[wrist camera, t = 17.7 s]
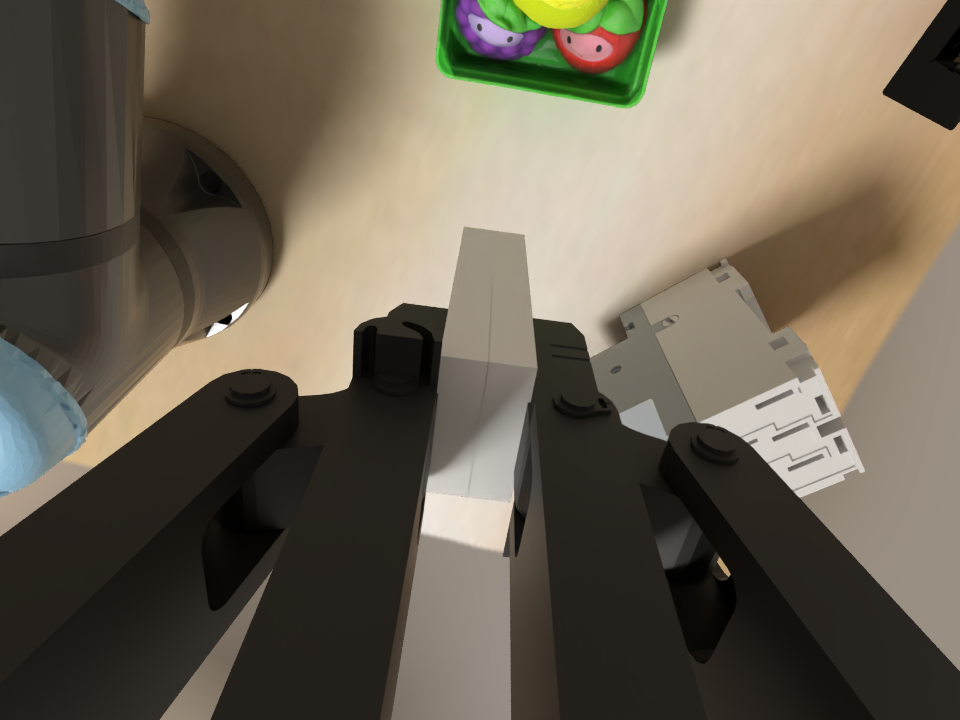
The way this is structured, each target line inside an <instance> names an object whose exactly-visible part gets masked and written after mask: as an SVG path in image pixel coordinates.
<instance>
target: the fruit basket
mask: <svg viewBox="0 0 960 720" xmlns="http://www.w3.org/2000/svg"><path fill="white" fill-rule="evenodd" d="M667 3H668V0H442V1H441V10H440V21H439V29H438V38H437V48H436V64H437V67H438V69H439V71H440V72H441V73H442V74H443V75H445V76H446V77H448V78H451V79H457V80H464V81H470V82H476V83H482V84H488V85H496V86H501V87H507V88H512V89H518V90H523V91H529V92H535V93H540V94H545V95H551V96H557V97H563V98H569V99H575V100H581V101H586V102H592V103H598V104H603V105H609V106H614V107H619V108H630V107H633V106H635V105H636V104H638V103H639V102H640V100H641V99H642V97H643V95H644V93H645V90H646V85H647V81H648V77H649V73H650V69H651V64H652V60H653V57H654V53H655V49H656V45H657V41H658V36H659V33H660V29H661V25H662V21H663V17H664V14H665V10H666V6H667Z"/></svg>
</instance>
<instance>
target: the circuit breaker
mask: <svg viewBox="0 0 960 720" xmlns="http://www.w3.org/2000/svg"><path fill="white" fill-rule="evenodd" d="M719 262H720V264H721V266H720V267H718V268H716V269H714V270H712V271H711V272H710V271H709V270H708V268H706V269H704V270H702V271H700V272H698V273H696V274H695V275H693V276H691V277H689V278H687V279H685V280H683V281H682V282H680V283H678V284H676V285H674V286H672V287H670V288H668V289H667V290H665V291H663V292H661V293H659V294H657V295H655V296H654V297H652V298H650V299H648V300H646V301H644V302H642V303H641V304H639V305H637V306H635V307H633V308H631V309H629V310H628V311H626V312H624V313H622V314H620V318H621V321H622V323H623V326H624V328H625V330H626V334H627V336H628V338H627V339H626V340H624V341H622V342H620V343H618V344H616V345H614V346H612V347H610V348H609V349H607V350H605V351H603V352H601V353H599V354H597V355H595V356H593V357H591V358H590V362H591V365H592V369H593V373H594V377H595V380H596V384H597V388H598V392H600V393H602V394H603V395H605V396H606V397H607V398H608V399H610V400H611V401H612V402H613V403H614V405H615V407H616V408H617V410H618V412H619V415H620V419H621V422H622V424H623V425H625V426H627V427H628V428H630V429H633V430H636V431H638V432H641V433H643V434H646V435H650V436H653V437H656V438H659V439H662V440H665V441H667V439H668V436H669V433H670V431H671V429H673V428H674V427H675V426H677V425H678V424H682V423H688V422H698V423H709V424H713V425H715V426H720V427H722V428H725V429H727V430H728V431H730V432H732V433H734V434H736V435H737V436H739V437H741V438H742V439H743V440H745V441H746V442H747V443H748V444H749V445H751V446H752V447H753V448H754V449H755V450H756V451H757V452H758V454H759V455H760V456H761V457H762V458H763V459H764V460H765V461H766V462H767V463H768V464H769V465H770V467H771V468H772V469H773V470H774V471H775V472H776V473H777V474H778V475H779V476H780V477H781V478H782V480H783V481H784V482H785V483H786V484H787V485H788V486H789V487H790V488H791V489H792V490H793V491H794V493H795V494H796V495H797V496H798V497H799V498H800V497H803V496H805V495H808V494H810V493H813V492H815V491H818V490H820V489H823V488H825V487H828V486H830V485H832V484H835V483H838V482H840V481H842V480H845V479H844V477H843V474H846V473H848V472H850V471H853V470H856V469H858V470H859V472H860V473H862V472H865V470H864V468H863V465H862V463H861V461H860V458H859V456H858V454H857V452H856V449H855V447H854V445H853V442H852V440H851V438H850V436H849V434H848V431H847V429H846V427H845V425H844V423H843V422H842V420H841V418H840V416H841V415H840V413H839V411H838V409H837V406H836V404H835V402H834V400H833V397H832V395H831V393H830V391H829V388H828V386H827V384H826V382H825V379H824V377H823V375H822V373H821V370H820V368H819V366H818V365H817V363H816V362H815V361H814V359H813V357H812V355H811V353H810V351H809V349H808V347H807V346H806V344H805V343H804V342H803V341H802V340H801V339H800V338H799V337H798V336H797V335H796V333H795V332H794V331H793V330H792V329H791V328H790V327H789V326H788V327H786V328H784V329H782V330H780V331H778V332H776V333H774V334H772V332H771V330H770V328H769V326H768V323H767V321H766V319H765V317H764V315H763V313H762V311H761V309H760V306H759V304H758V302H757V300H756V298H755V296H754V294H753V292H752V289H751V287H750V285H749V283H748V282H747V281H746V280H745V279H744V278H743V277H742V276H741V274H740V273H739V272H738V271H737V270H736V269H735V268H734V267H733V266H732V267H731V266H730V265H729V263H728V261H727V259H726V258H724V259H723V260H721V261H719ZM726 278H727V279H726ZM724 279H726V280H724Z"/></svg>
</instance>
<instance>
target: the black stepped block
mask: <svg viewBox="0 0 960 720" xmlns="http://www.w3.org/2000/svg"><path fill="white" fill-rule="evenodd" d="M883 95H885V96H887V97H889V98H891V99H893V100H894V101H896V102H898V103H900V104H902V105H904V106H906V107H907V108H909V109H911V110H913V111H915V112H917V113H919V114H920V115H922V116H924V117H926V118H928V119H930V120H932V121H933V122H935V123H937V124H939V125H941V126H943V127H945V128H947V129H948V130H953V129H954V128H955V127H956V126H957V124H958V123H959V122H960V0H947V2H946V3H945V5H944V6H943V7H942V9H941V10H940V12H939V13H938V14H937V16H936V17H935V19H934V20H933V21H932V23H931V24H930V26H929V27H928V28H927V30H926V31H925V33H924V34H923V35H922V37H921V38H920V40H919V41H918V42H917V44H916V45H915V47H914V48H913V49H912V51H911V52H910V54H909V55H908V56H907V58H906V59H905V61H904V62H903V63H902V65H901V66H900V68H899V69H898V70H897V72H896V73H895V75H894V76H893V77H892V79H891V80H890V82H889V83H888V84H887V86H886V87H885V89H884V90H883Z"/></svg>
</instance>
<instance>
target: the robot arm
mask: <svg viewBox="0 0 960 720" xmlns="http://www.w3.org/2000/svg"><path fill="white" fill-rule="evenodd" d="M145 24H150V13H149V10H148V8H147V7H146V5H145V3H144V0H0V497H3V496H6V495H8V494H10V493H11V492H15V491H18V490H20V489H22V488H25V487H27V486H29V485H30V484H32V483H33V482H35V481H36V480H37V479H39V478H40V477H41V476H42V475H44V474H45V473H46V472H47V471H49V470H50V469H51V468H52V467H54V466H55V465H56V464H57V463H59V462H60V461H61V460H63V459H64V458H65V457H66V456H69V455H71V454H73V453H74V452H75V451H77V450H78V449H79V448H80V447H81V445H82V444H83V443H84V442H85V441H86V440H85V438H86V437H87V436H88V434H89V433H90V432H91V431H92V430H93V429H94V428H95V427H96V426H97V425H98V424H99V423H100V422H101V421H102V420H103V419H104V417H105V416H106V415H107V414H108V413H109V412H110V411H111V410H112V409H113V408H114V407H115V406H116V405H117V404H118V403H119V402H120V401H121V400H122V399H123V398H124V397H125V396H126V395H127V394H128V393H129V392H130V391H131V390H132V389H133V388H134V387H135V386H136V385H137V384H138V383H139V382H140V381H141V380H142V379H143V378H144V377H145V376H146V375H147V374H148V373H149V372H150V371H151V370H152V369H153V368H154V367H155V366H156V365H157V364H158V363H159V362H160V361H161V360H162V359H163V358H164V357H165V356H166V355H167V354H168V353H169V352H170V351H171V350H172V349H173V348H175V347H178V346H181V345H184V344H187V343H191V342H194V341H197V340H200V339H203V338H206V337H209V336H212V335H215V334H217V333H219V332H221V331H223V330H225V329H226V328H228V327H229V326H231V325H232V324H234V323H235V322H236V321H238V320H239V319H240V318H241V317H242V316H243V315H244V314H245V313H246V312H247V311H248V309H249V308H250V307H251V306H252V305H253V304H254V303H255V301H256V300H257V299H258V298H259V296H260V295H261V293H262V291H263V290H264V288H265V286H266V284H267V281H268V278H269V275H270V272H271V267H272V261H273V240H272V233H271V228H270V224H269V220H268V217H267V214H266V211H265V209H264V206H263V204H262V202H261V200H260V198H259V196H258V194H257V192H256V190H255V189H254V187H253V186H252V184H251V183H250V181H249V180H248V178H247V177H246V176H245V174H244V173H243V172H242V171H241V170H240V168H239V167H238V166H237V165H236V164H235V163H234V162H233V161H232V160H231V159H230V158H229V157H228V156H227V155H226V154H225V153H224V152H222V151H221V150H220V149H219V148H218V147H216V146H215V145H214V144H212V143H211V142H209V141H208V140H206V139H205V138H203V137H202V136H200V135H198V134H196V133H194V132H192V131H190V130H188V129H186V128H184V127H182V126H179V125H177V124H174V123H171V122H167V121H163V120H160V119H154V118H148V117H143V91H144V58H145ZM513 486H514V504H513V509H512V514H511V519H510V524H509V529H508V533H507V538H506V543H505V548H504V553H503V557H509V556H510V629H511V630H510V637H511V639H510V640H511V720H960V671H959V670H958V669H957V668H956V667H955V666H954V665H953V664H952V662H951V661H950V660H949V659H948V658H947V657H946V656H945V655H944V654H943V653H942V652H941V651H940V649H939V648H937V646H936V645H935V644H934V643H933V642H932V641H931V640H930V639H929V638H928V637H927V636H926V635H925V633H924V632H923V631H922V630H921V629H920V628H919V627H918V626H917V625H916V624H915V622H914V621H913V620H912V619H911V618H910V617H909V616H908V615H907V614H906V613H905V612H904V611H903V609H901V607H900V606H899V605H898V604H897V603H896V602H895V601H894V600H893V599H892V598H891V596H890V595H889V594H888V593H887V592H886V591H885V590H884V589H883V588H882V587H881V586H880V585H879V583H877V581H876V580H875V579H874V578H873V577H872V576H871V575H870V574H869V573H868V572H867V570H866V569H865V568H864V567H863V566H862V565H861V564H860V563H859V562H858V561H857V560H856V559H855V557H853V555H852V554H851V553H850V552H849V551H848V550H847V549H846V548H845V547H844V546H843V545H842V544H841V542H840V541H839V540H838V539H837V538H836V537H835V536H834V535H833V534H832V533H831V532H830V530H829V529H828V528H827V527H826V526H825V525H824V524H823V523H822V522H821V521H820V520H819V519H818V517H817V516H816V515H815V514H814V513H813V512H812V511H811V510H810V509H809V508H808V507H807V506H806V504H805V503H803V501H802V500H801V499H800V498H799V497H798V496H797V495H796V494H795V493H794V491H793V490H792V489H791V488H790V487H789V486H788V485H787V484H786V483H785V482H784V481H783V480H782V478H781V477H780V476H779V475H778V474H777V473H776V472H775V471H774V470H773V469H772V468H771V467H770V465H769V464H768V463H767V462H766V461H765V460H764V459H763V458H762V457H761V456H760V455H759V454H758V452H757V451H756V450H755V449H754V448H753V447H752V446H751V445H749V444H748V443H747V442H746V441H745V440H743V439H742V438H741V437H739V436H737V435H736V434H734V433H732V432H730V431H728V430H727V429H725V428H722V427H720V426H715V425H713V424H709V423H698V422H688V423H682V424H678V425H677V426H675V427H674V428H673V429H671V431H670V433H669V436H668V439H667V441H665V440H662V439H659V438H656V437H653V436H650V435H646V434H643V433H641V432H638V431H636V430H633V429H630V428H628V427H627V426H625V425H623V424H622V422H621V419H620V415H619V412H618V410H617V408H616V407H615V405H614V403H613V402H612V401H611V400H610V399H608V398H607V397H606V396H605V395H603V394H602V393H600V392H598V388H597V384H596V380H595V377H594V373H593V369H592V365H591V362H590V357H589V353H588V351H587V345H586V341H585V338H584V335H583V334H582V333H581V332H580V331H579V330H578V329H577V328H576V327H575V326H574V325H573V324H572V323H565V322H558V321H550V320H542V319H535V318H532V307H531V297H530V287H529V277H528V267H527V257H526V247H525V237H524V235H521V234H514V233H507V232H499V231H492V230H485V229H477V228H470V227H464V230H463V235H462V240H461V246H460V251H459V256H458V261H457V267H456V272H455V277H454V283H453V288H452V293H451V298H450V304H449V309H445V308H437V307H429V306H422V305H414V304H407V303H402V304H401V305H399V306H398V307H396V308H395V309H393V310H392V311H390V312H389V314H388V316H387V317H381V318H374V319H371V320H368V321H366V322H363V323H361V324H360V325H359V326H358V327H357V328H356V329H355V330H354V345H353V378H352V380H351V383H350V385H349V388H347V389H345V390H342V391H339V392H335V393H330V394H322V395H310V396H298V388H297V384H296V383H295V382H294V381H293V380H292V379H291V378H290V377H288V376H285V375H283V374H281V373H278V372H275V371H268V370H263V369H253V370H251V369H245V370H240V371H236V372H232V373H228V374H224V375H222V376H220V377H218V378H217V379H215V380H213V381H211V382H209V383H208V384H207V385H205V386H204V387H203V388H201V389H200V390H199V391H197V392H196V393H194V394H193V395H192V396H190V397H189V398H188V399H186V400H185V401H184V402H182V403H181V404H180V405H178V406H177V407H175V408H174V409H173V410H171V411H170V412H169V413H167V414H166V415H165V416H163V417H162V418H161V419H159V420H158V421H156V422H155V423H154V424H152V425H151V426H150V427H148V428H147V429H146V430H144V431H143V432H142V433H140V434H139V435H137V436H136V437H135V438H133V439H132V440H131V441H129V442H128V443H127V444H125V445H124V446H123V447H121V448H120V449H118V450H117V451H116V452H114V453H113V454H112V455H110V456H109V457H108V458H106V459H105V460H104V461H102V462H101V463H99V464H98V465H97V466H95V467H94V468H93V469H91V470H90V471H89V472H87V473H86V474H85V475H83V476H82V477H81V478H79V479H78V480H76V481H75V482H74V483H72V484H71V485H70V486H68V487H67V488H66V489H64V490H63V491H61V492H60V493H59V494H57V495H56V496H55V497H53V498H52V499H51V500H49V501H48V502H47V503H45V504H44V505H43V506H41V507H40V508H38V509H37V510H36V511H34V512H33V513H32V514H30V515H29V516H28V517H26V518H25V519H23V520H22V521H21V522H19V523H18V524H17V525H15V526H14V527H13V528H11V529H10V530H9V531H7V532H6V533H5V534H3V535H2V536H0V720H160V718H161V717H162V716H163V714H164V713H165V712H166V710H167V709H168V707H169V706H170V705H171V704H172V702H173V701H174V700H175V698H176V697H177V696H178V694H179V693H180V692H181V690H182V689H183V688H184V686H185V685H186V684H187V682H188V681H189V680H190V678H191V677H192V676H193V674H194V673H195V672H196V670H197V669H198V668H199V666H200V665H201V664H202V662H203V661H204V660H205V658H206V657H207V655H208V654H209V653H210V652H211V650H212V649H213V648H214V646H215V645H216V644H217V642H218V641H219V640H220V639H221V637H222V636H223V635H224V633H225V632H226V631H227V629H228V628H229V626H230V625H231V624H232V623H233V621H234V620H235V619H236V617H237V616H238V615H239V613H240V612H241V611H242V609H243V608H244V607H245V605H246V604H247V603H248V601H249V600H250V599H251V597H252V596H253V595H254V593H255V592H256V591H257V589H258V588H259V587H260V585H261V584H262V583H263V581H264V580H265V579H266V577H267V576H268V575H269V574H270V572H271V571H272V569H273V571H272V573H271V575H270V578H269V580H268V583H267V585H266V588H265V590H264V593H263V595H262V597H261V600H260V602H259V604H258V607H257V609H256V612H255V614H254V617H253V619H252V621H251V624H250V626H249V628H248V631H247V634H246V636H245V638H244V641H243V643H242V645H241V648H240V650H239V653H238V655H237V658H236V660H235V662H234V665H233V667H232V669H231V672H230V675H229V677H228V679H227V681H226V684H225V686H224V689H223V691H222V694H221V696H220V698H219V701H218V703H217V706H216V708H215V711H214V713H213V715H212V718H211V720H391V717H392V710H393V703H394V698H395V691H396V684H397V678H398V672H399V666H400V659H401V653H402V647H403V640H404V634H405V627H406V621H407V615H408V609H409V602H410V596H411V590H412V582H413V576H414V570H415V564H416V558H417V551H418V545H419V539H420V532H421V526H422V520H423V513H424V504H425V495H426V492H428V493H437V494H445V495H453V496H461V497H470V498H478V499H486V500H495V501H503V502H510V501H511V496H512V491H513ZM719 556H720V558H721V559H722V561H723V562H724V564H725V565H726V567H727V568H728V570H729V572H730V574H731V575H730V576H729V577H728V576H727V575H726V574H725V573H724V572H723V570H722V569H721V567H720V566H719V564H718V563H717V561H718V559H719Z"/></svg>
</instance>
